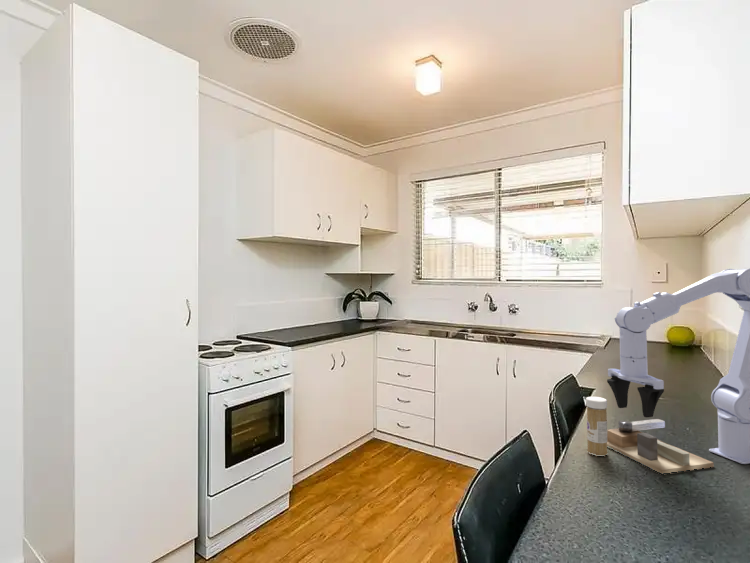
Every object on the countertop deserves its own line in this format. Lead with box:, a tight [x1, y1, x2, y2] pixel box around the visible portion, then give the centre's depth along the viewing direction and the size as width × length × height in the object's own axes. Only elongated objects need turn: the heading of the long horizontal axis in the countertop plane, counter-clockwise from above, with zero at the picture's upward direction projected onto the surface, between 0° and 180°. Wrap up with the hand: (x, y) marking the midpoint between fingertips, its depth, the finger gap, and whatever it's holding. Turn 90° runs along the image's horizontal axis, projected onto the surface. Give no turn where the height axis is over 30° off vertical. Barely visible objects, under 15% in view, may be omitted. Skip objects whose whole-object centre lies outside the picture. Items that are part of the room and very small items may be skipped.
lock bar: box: [618, 418, 666, 433], centre depth 108 cm, size 12×3×2 cm, turn 103°
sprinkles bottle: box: [585, 396, 609, 455], centre depth 103 cm, size 5×5×14 cm
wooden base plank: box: [607, 427, 715, 474], centre depth 102 cm, size 14×18×6 cm
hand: (634, 411), depth 104 cm, fingers open, 7 cm apart
